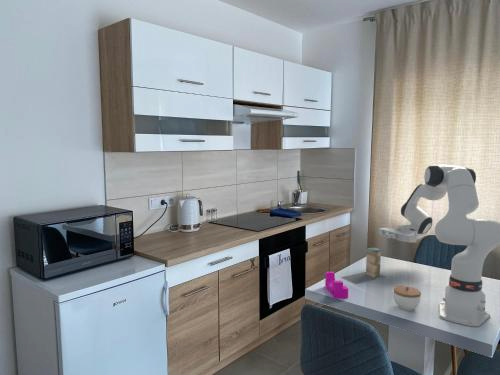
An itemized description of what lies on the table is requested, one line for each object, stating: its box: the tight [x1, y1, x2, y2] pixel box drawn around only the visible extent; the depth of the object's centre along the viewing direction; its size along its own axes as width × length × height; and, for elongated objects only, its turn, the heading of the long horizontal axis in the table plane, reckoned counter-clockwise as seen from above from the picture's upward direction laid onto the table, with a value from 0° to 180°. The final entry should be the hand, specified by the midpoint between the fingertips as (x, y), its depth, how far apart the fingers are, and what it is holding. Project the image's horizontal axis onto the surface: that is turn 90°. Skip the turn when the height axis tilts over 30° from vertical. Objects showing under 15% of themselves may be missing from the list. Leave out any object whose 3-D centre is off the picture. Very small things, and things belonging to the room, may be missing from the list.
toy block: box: [324, 271, 349, 299], centre depth 178 cm, size 15×6×8 cm, turn 4°
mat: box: [340, 271, 387, 285], centre depth 198 cm, size 22×11×1 cm, turn 120°
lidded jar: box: [393, 285, 422, 312], centre depth 161 cm, size 11×11×9 cm
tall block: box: [365, 247, 382, 277], centre depth 201 cm, size 5×5×14 cm
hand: (386, 236), depth 204 cm, fingers closed
